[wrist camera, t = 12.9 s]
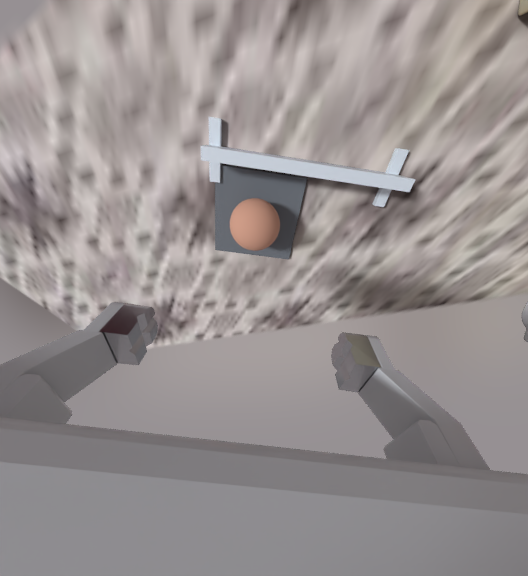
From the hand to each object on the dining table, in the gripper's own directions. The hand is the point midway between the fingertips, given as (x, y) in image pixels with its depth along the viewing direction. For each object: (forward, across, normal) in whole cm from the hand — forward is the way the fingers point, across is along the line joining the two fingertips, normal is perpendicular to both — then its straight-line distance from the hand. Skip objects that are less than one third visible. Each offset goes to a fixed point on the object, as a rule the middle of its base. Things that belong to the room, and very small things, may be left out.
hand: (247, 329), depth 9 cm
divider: (+17, -3, -5) cm, 18 cm away
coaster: (+17, +1, 0) cm, 17 cm away
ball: (+17, +1, 0) cm, 17 cm away
